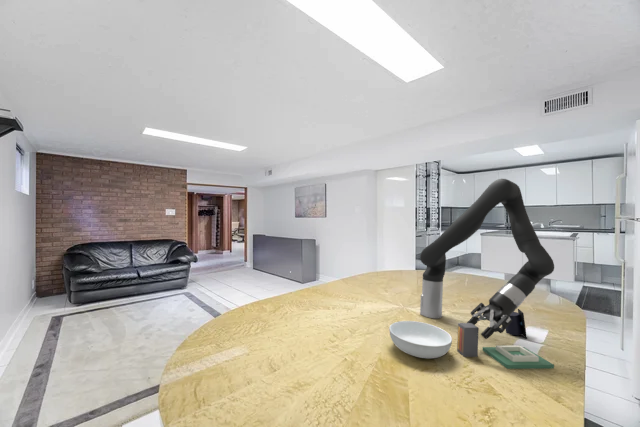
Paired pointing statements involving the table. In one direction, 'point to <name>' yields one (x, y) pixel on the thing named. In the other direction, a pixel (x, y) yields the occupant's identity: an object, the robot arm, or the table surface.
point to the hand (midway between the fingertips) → (475, 331)
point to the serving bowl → (420, 339)
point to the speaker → (517, 324)
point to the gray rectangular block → (467, 340)
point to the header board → (517, 357)
